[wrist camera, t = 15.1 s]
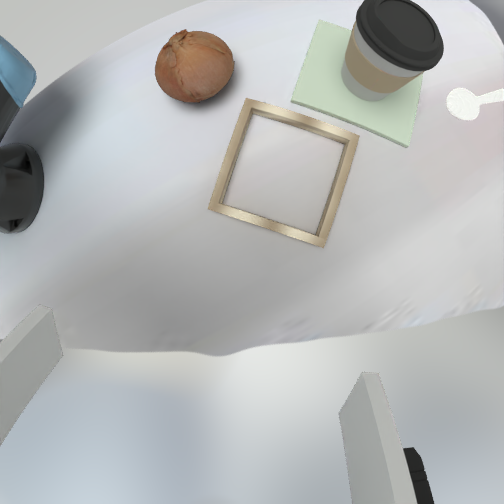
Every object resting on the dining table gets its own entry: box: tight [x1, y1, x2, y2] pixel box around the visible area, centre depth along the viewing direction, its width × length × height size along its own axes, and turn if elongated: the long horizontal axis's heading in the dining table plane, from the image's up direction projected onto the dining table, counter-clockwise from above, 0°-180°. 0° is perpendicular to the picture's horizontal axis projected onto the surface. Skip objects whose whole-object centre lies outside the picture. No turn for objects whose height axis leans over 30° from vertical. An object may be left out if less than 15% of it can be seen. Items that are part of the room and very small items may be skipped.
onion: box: [155, 29, 235, 102], centre depth 30 cm, size 10×9×10 cm
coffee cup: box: [341, 0, 444, 101], centre depth 25 cm, size 9×9×15 cm
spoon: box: [446, 88, 504, 121], centre depth 32 cm, size 5×18×1 cm, turn 113°
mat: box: [291, 20, 423, 148], centre depth 33 cm, size 16×14×1 cm
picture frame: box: [208, 98, 359, 248], centre depth 35 cm, size 14×14×2 cm
